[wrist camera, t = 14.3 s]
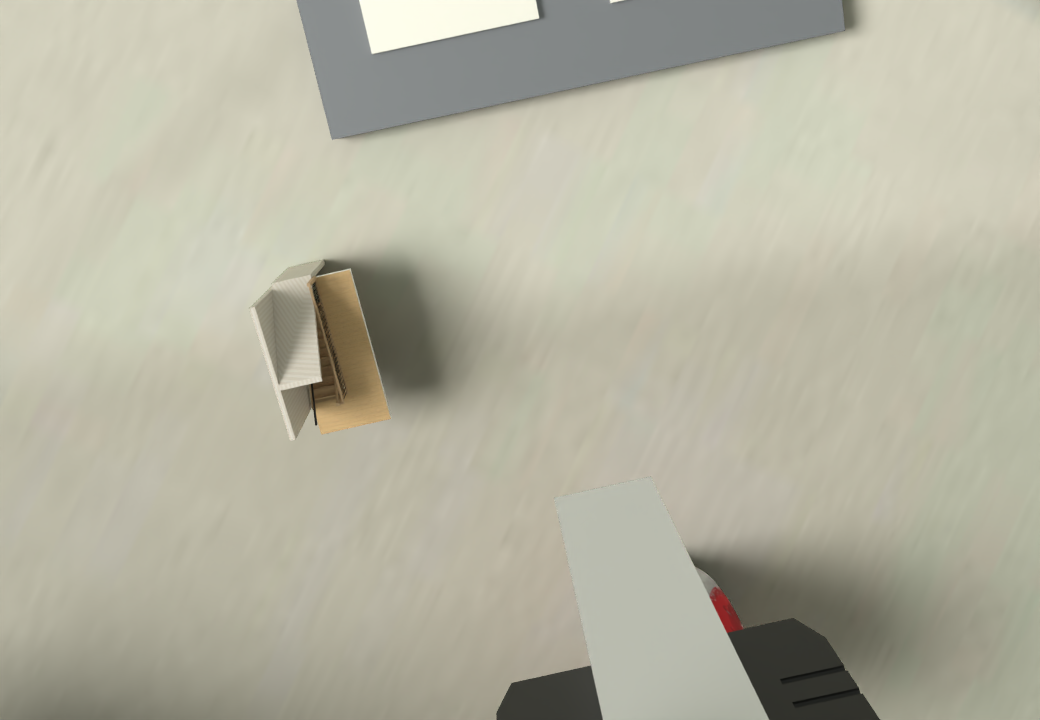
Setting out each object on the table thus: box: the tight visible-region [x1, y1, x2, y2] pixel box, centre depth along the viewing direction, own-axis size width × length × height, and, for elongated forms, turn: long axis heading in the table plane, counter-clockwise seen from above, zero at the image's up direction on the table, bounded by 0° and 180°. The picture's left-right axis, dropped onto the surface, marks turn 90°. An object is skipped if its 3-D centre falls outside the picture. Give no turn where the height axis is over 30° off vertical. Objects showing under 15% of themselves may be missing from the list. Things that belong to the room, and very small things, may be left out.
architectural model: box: [249, 260, 391, 441], centre depth 41 cm, size 3×7×8 cm, turn 12°
